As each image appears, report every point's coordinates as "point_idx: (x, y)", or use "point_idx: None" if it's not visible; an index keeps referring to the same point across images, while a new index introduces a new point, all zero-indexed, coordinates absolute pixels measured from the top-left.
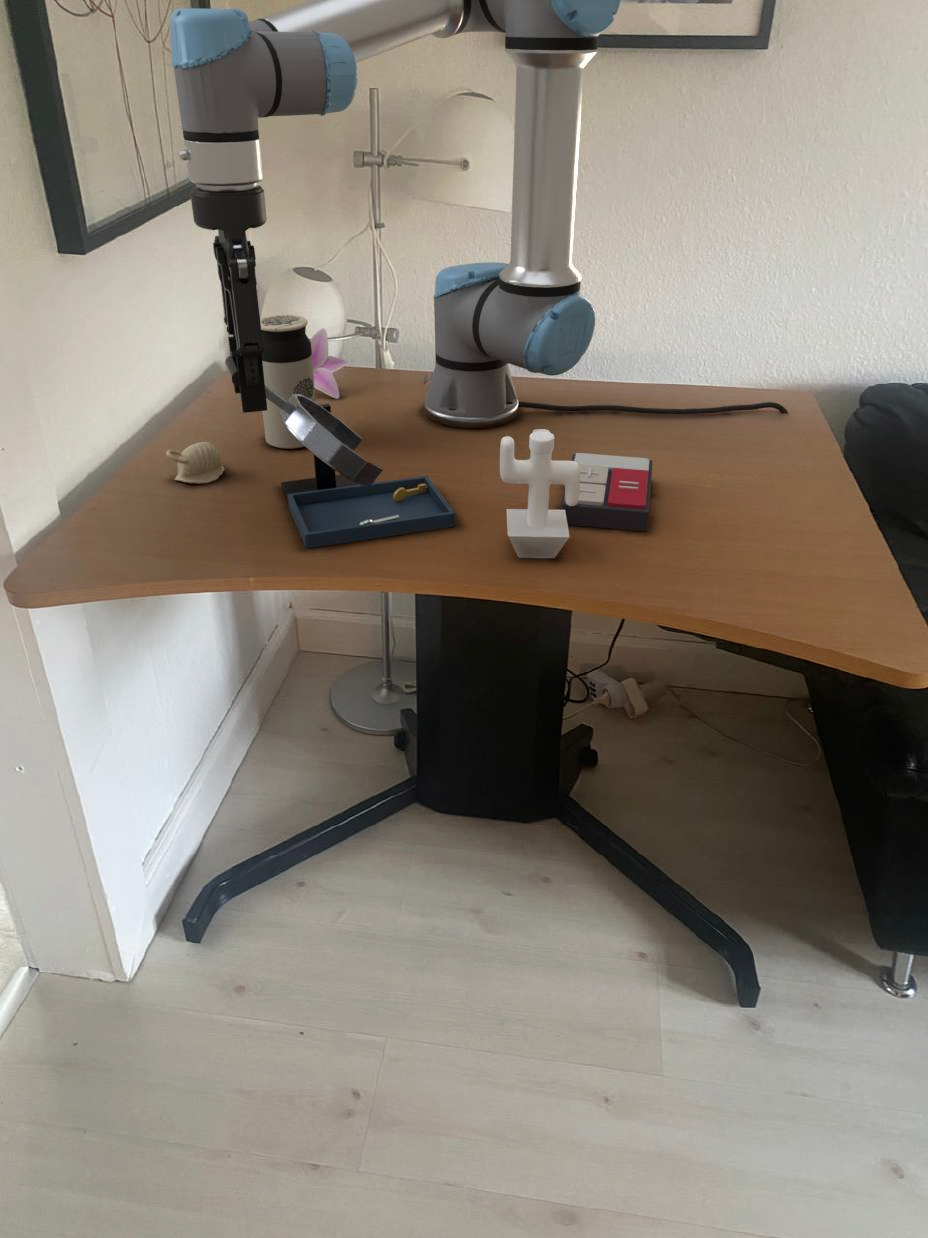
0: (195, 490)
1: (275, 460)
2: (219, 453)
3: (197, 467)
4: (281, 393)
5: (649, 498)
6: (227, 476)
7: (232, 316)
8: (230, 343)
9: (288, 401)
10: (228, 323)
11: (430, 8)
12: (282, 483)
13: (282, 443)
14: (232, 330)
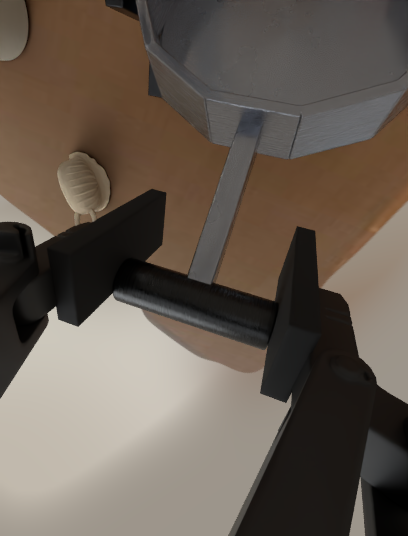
0: (123, 200)
1: (61, 68)
2: (72, 161)
3: (97, 196)
4: None
5: None
6: (97, 152)
7: (5, 369)
8: (90, 314)
9: (214, 119)
10: (27, 355)
11: None
12: (153, 94)
13: (20, 39)
14: (42, 321)
